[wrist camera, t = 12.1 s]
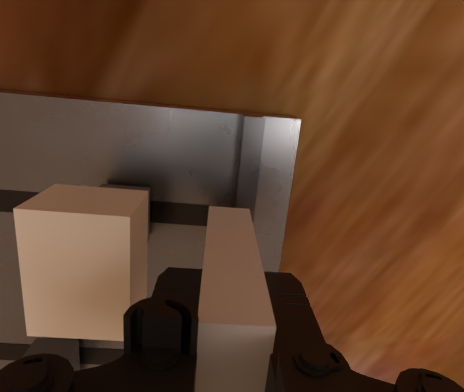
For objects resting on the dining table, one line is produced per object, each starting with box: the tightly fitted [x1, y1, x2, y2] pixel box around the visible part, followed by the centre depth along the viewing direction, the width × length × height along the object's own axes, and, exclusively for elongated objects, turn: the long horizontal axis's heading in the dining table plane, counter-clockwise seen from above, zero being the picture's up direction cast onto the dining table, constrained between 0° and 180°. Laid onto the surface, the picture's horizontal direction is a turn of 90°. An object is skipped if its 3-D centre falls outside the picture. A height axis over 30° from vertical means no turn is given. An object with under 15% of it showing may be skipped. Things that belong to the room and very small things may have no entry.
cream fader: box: [13, 184, 151, 341], centre depth 12 cm, size 4×3×5 cm
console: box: [0, 89, 301, 370], centre depth 16 cm, size 17×26×3 cm, turn 85°
